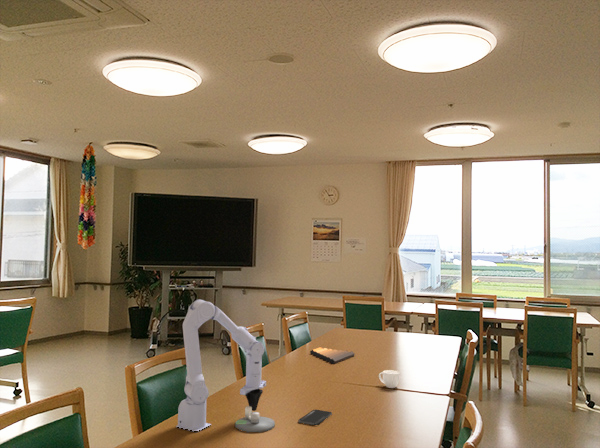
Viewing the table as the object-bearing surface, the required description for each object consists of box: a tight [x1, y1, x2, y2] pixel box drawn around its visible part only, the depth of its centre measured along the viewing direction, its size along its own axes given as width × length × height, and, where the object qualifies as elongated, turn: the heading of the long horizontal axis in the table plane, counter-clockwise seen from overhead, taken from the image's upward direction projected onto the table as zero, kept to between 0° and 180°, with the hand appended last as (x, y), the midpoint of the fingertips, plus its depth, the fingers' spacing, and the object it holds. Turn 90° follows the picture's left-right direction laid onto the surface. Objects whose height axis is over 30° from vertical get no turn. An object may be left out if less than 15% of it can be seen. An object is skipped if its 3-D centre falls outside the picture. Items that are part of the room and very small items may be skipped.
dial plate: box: [234, 415, 276, 433], centre depth 178 cm, size 14×14×1 cm
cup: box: [378, 369, 401, 389], centre depth 233 cm, size 8×10×7 cm
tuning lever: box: [244, 405, 260, 423], centre depth 181 cm, size 8×3×4 cm, turn 31°
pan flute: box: [310, 347, 356, 365], centre depth 294 cm, size 25×3×25 cm
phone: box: [298, 409, 333, 426], centre depth 187 cm, size 8×1×15 cm
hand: (253, 410), depth 186 cm, fingers closed
